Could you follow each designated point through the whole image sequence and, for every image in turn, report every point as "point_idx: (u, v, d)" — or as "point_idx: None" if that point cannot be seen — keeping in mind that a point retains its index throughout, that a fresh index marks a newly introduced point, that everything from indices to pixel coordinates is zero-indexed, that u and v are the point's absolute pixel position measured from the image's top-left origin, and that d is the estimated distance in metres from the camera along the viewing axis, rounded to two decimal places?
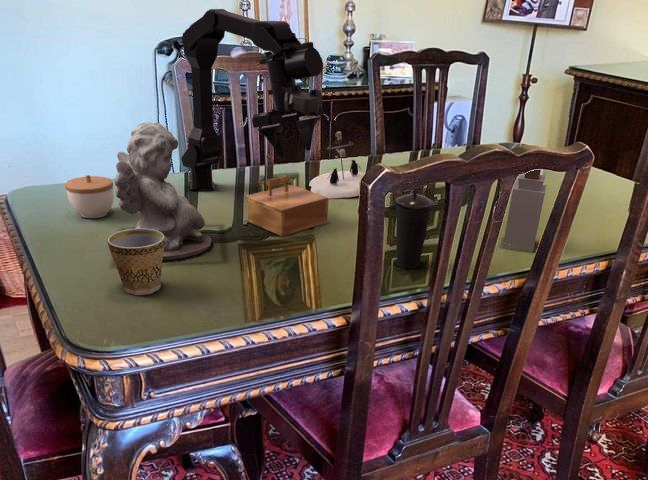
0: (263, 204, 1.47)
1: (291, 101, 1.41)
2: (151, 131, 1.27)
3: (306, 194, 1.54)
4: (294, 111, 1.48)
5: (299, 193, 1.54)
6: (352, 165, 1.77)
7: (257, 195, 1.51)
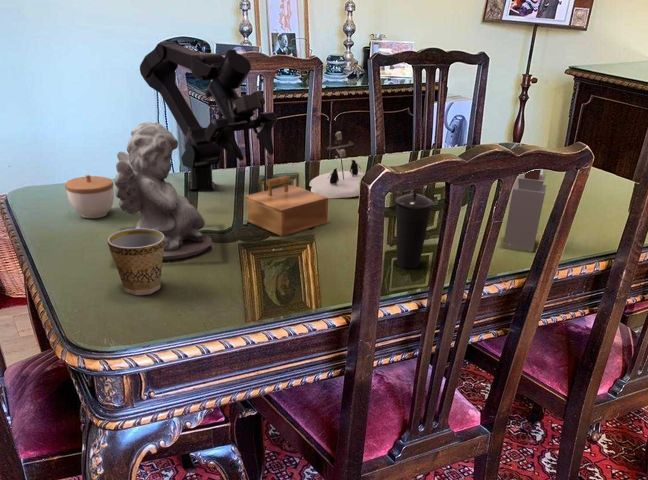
0: (263, 204, 1.47)
1: (234, 107, 1.50)
2: (151, 131, 1.27)
3: (306, 194, 1.54)
4: (247, 123, 1.56)
5: (299, 193, 1.54)
6: (352, 165, 1.77)
7: (257, 195, 1.51)
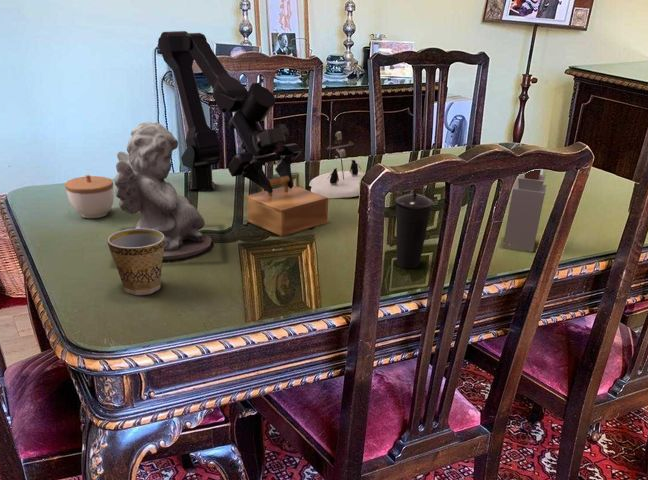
0: (263, 204, 1.47)
1: (258, 140, 1.48)
2: (151, 131, 1.27)
3: (306, 194, 1.54)
4: None
5: (299, 193, 1.54)
6: (352, 165, 1.77)
7: (257, 195, 1.51)
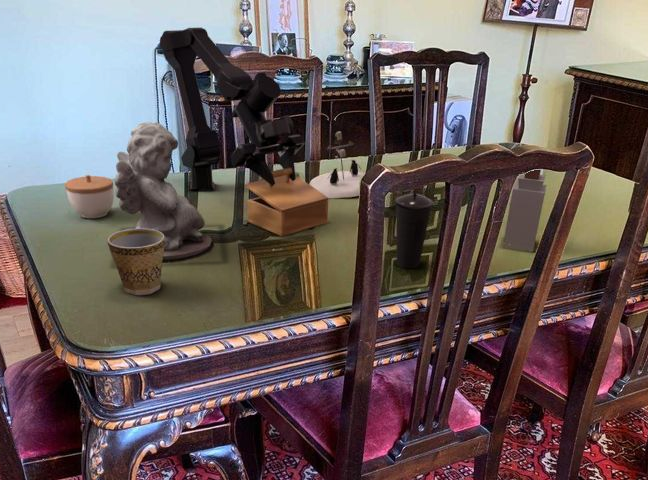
0: (263, 198, 1.46)
1: (261, 131, 1.46)
2: (151, 131, 1.27)
3: (307, 189, 1.53)
4: None
5: (300, 187, 1.53)
6: (352, 165, 1.78)
7: (258, 184, 1.50)
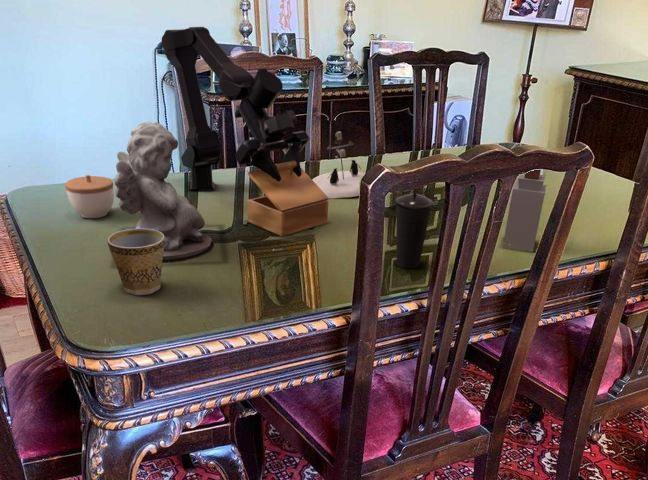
0: (265, 192, 1.45)
1: (265, 127, 1.44)
2: (151, 131, 1.27)
3: (308, 185, 1.52)
4: (278, 143, 1.50)
5: (302, 182, 1.52)
6: (352, 165, 1.77)
7: (260, 174, 1.48)
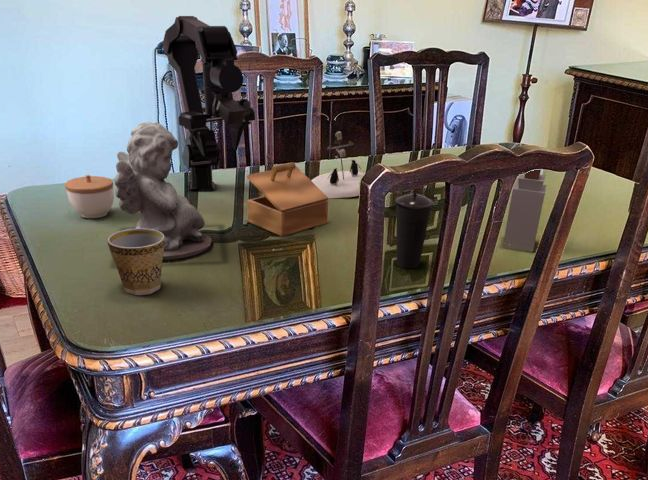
0: (264, 194, 1.45)
1: (218, 108, 1.48)
2: (151, 131, 1.27)
3: (308, 186, 1.52)
4: None
5: (301, 183, 1.52)
6: (352, 165, 1.78)
7: (259, 177, 1.48)
